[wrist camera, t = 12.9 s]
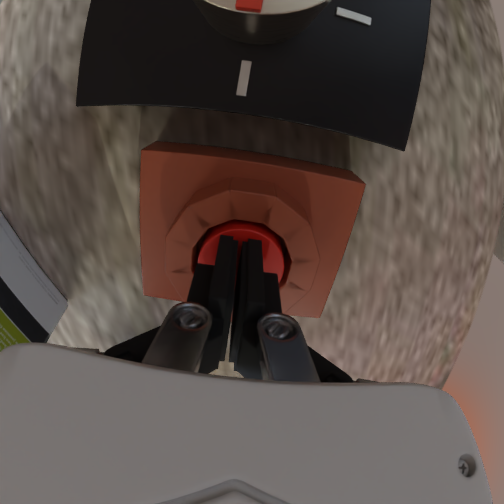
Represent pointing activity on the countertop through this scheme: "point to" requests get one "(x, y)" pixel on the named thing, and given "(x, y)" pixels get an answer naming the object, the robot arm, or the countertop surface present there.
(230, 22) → the hob knob
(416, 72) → the panel
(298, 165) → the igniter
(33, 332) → the tea box
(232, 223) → the button
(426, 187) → the countertop surface
